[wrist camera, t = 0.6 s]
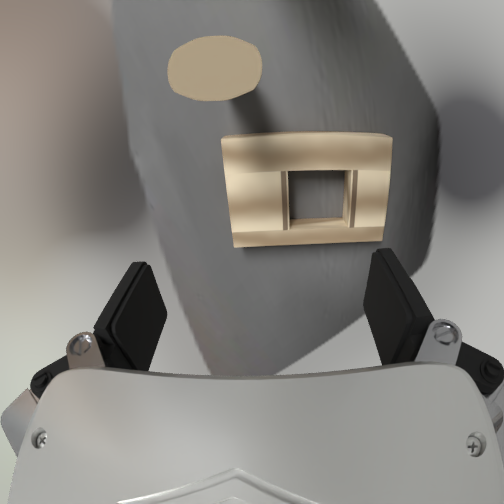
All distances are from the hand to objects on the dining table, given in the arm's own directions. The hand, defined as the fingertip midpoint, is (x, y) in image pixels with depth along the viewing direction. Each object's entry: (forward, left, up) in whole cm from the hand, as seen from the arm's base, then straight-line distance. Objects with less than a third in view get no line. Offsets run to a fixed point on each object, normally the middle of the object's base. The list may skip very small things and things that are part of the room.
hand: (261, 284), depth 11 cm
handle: (-10, -3, -26) cm, 27 cm away
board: (+4, +5, -25) cm, 26 cm away
